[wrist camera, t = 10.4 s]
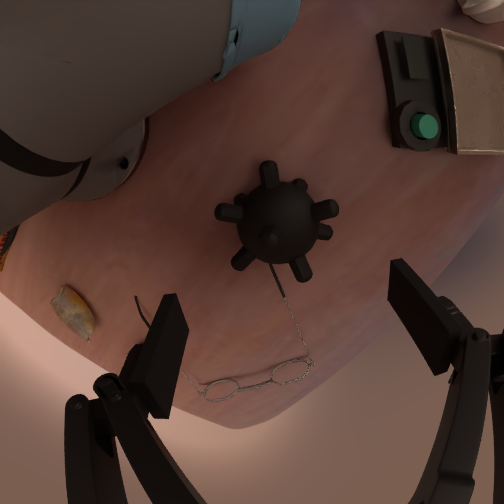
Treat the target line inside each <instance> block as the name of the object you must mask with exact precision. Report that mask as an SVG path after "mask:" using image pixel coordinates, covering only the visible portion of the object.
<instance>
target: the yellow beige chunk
mask: <svg viewBox="0 0 504 504" xmlns="http://www.w3.org/2000/svg"><path fill="white" fill-rule="evenodd" d="M51 306H52V307H53V309H54V311H55V312H56V314H57V315H58V316H59V318H60V319H61V320H63V321H64V322H65V323H66V324H67V325H68V326H69V327H70V328H71V329H72V330H73V331H74V332H75V333H77V334H78V335H79V336H80V337H82V338H84V339H85V340H87V342H88V343H89V341H90V340H89V338H88V335H89V334H93V332H94V330H95V320H94V317H93V315H92V313H91V311H90V309H89V308H88V306H87V305H86V304H85V302H84V301H83V300H82V298H81V297H80V296H79V295H77V294H76V293H75V292H74V291H73V290H71V289H70V288H68V287H66V286H64V287H63V286H62V287H61V290H60V292H59V295H58V296H57V298H54V299H52V300H51ZM90 342H91V341H90Z"/></svg>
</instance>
